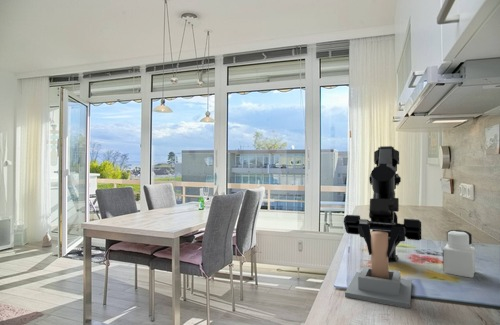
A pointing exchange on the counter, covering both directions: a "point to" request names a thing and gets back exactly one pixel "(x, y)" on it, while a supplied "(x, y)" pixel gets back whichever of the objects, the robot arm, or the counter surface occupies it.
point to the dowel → (379, 254)
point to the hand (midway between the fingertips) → (379, 255)
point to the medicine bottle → (459, 254)
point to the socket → (380, 288)
